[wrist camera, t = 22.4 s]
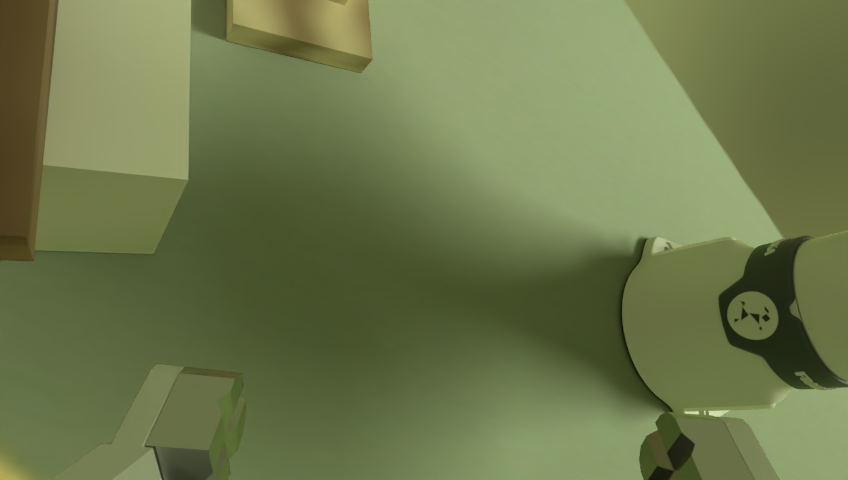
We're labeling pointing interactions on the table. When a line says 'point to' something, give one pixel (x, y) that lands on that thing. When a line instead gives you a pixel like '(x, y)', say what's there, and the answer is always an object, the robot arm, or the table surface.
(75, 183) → the white rectangular block
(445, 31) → the table surface
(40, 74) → the walnut bar
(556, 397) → the table surface
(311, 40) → the wooden i-beam pillar
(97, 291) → the table surface
